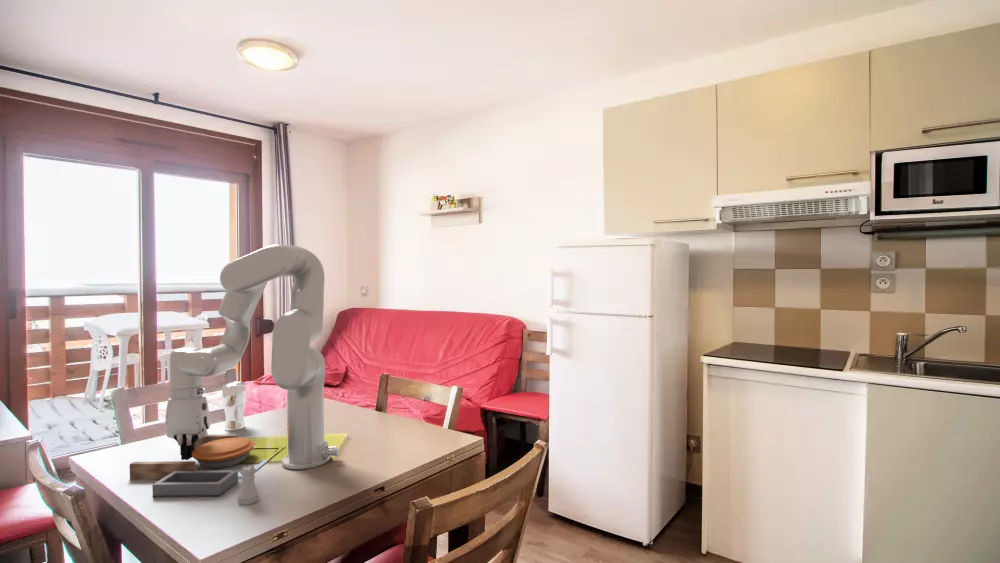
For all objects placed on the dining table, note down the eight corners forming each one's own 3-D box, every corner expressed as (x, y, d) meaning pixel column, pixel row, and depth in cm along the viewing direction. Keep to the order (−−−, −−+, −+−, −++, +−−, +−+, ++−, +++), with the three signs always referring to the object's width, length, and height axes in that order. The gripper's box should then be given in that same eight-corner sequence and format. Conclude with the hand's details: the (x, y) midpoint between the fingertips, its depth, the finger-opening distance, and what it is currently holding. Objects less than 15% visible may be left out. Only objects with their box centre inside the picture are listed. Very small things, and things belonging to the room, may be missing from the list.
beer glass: (218, 430, 169) (217, 385, 168) (236, 423, 175) (235, 380, 175) (233, 432, 166) (232, 387, 166) (251, 426, 172) (250, 382, 172)
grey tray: (238, 482, 127) (237, 470, 127) (220, 496, 119) (220, 484, 119) (174, 482, 127) (174, 471, 127) (152, 497, 119) (152, 484, 119)
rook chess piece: (242, 497, 118) (242, 463, 118) (262, 496, 119) (261, 462, 119) (234, 506, 114) (233, 471, 114) (255, 505, 114) (254, 470, 114)
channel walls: (238, 447, 152) (237, 434, 152) (192, 478, 129) (191, 463, 129) (185, 448, 152) (184, 434, 152) (130, 479, 129) (129, 464, 129)
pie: (203, 453, 147) (203, 436, 147) (261, 448, 150) (260, 432, 150) (182, 474, 132) (181, 455, 132) (246, 469, 135) (246, 450, 135)
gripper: (221, 389, 144) (221, 453, 144) (168, 389, 144) (169, 453, 144) (205, 396, 136) (206, 463, 137) (150, 396, 136) (151, 463, 137)
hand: (187, 457), depth 140 cm, fingers closed
